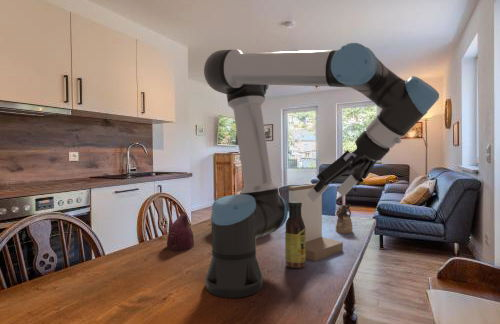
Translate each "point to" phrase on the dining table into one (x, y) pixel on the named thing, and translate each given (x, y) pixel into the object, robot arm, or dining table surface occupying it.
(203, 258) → the dining table surface
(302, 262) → the sauce bottle
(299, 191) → the upright board stand
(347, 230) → the figurine
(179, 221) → the vegetable
